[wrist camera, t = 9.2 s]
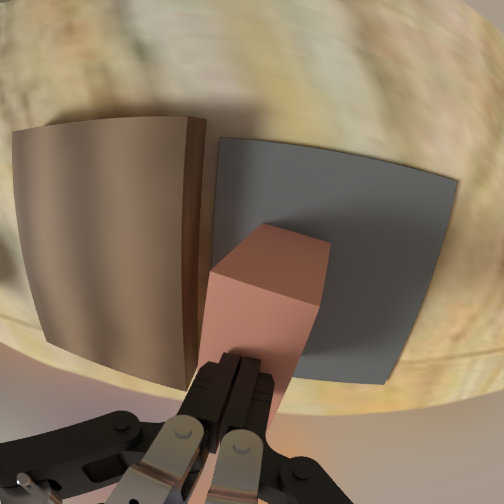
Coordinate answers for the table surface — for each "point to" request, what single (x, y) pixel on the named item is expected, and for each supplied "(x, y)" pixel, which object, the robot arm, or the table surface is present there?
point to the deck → (115, 239)
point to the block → (265, 302)
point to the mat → (341, 243)
